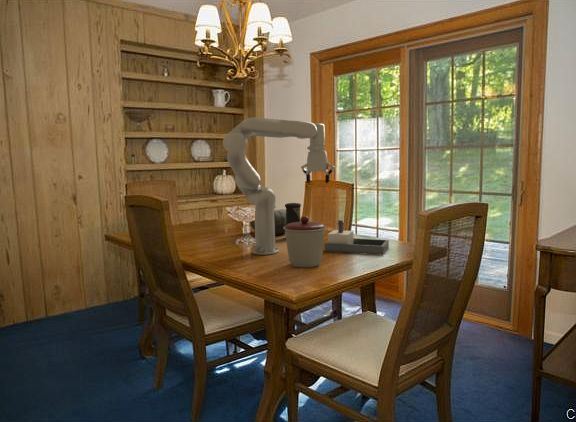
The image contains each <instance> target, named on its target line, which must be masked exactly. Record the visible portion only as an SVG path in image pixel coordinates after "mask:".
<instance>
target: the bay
mask: <svg viewBox="0 0 576 422" xmlns="http://www.w3.org/2000/svg"><path fill="white" fill-rule="evenodd" d="M389 246H390V240H389V239H378V238H377V239H376V238H375V239H374V238H373V239H371V238H355V237H353V244H339V243H328V242H325V243H324V252H327V253H328V252H329V253H330V252H331V253H343V252H351V253H350V254H359V253H367V254H366V255H374V254H382V255H381V256H384V255H383V254H386V252H387V251H388V250H389V248H390V247H389ZM387 249H388V250H387ZM386 250H387V251H386ZM385 251H386V252H385Z"/></svg>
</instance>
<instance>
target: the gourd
mask: <svg viewBox="0 0 576 422" xmlns="http://www.w3.org/2000/svg"><path fill="white" fill-rule="evenodd" d="M249 222H250V221H249ZM274 222H275V236H278V235H281V234H284V233H285V230H284V228H283V227H285V226H286V208H285V209H284V208H282V209H276V210H275V209H274ZM250 225H251V226H250V227H251V228H252V229H253V230H254V231H255V220H254V221H252V222H250Z"/></svg>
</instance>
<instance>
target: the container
mask: <svg viewBox="0 0 576 422" xmlns="http://www.w3.org/2000/svg"><path fill="white" fill-rule="evenodd" d="M284 207H285V210H286V225H287V224H289V223H294V222H301V207H302V205H301V203H299V202H288V203H285V205H284Z"/></svg>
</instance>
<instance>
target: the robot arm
mask: <svg viewBox="0 0 576 422" xmlns="http://www.w3.org/2000/svg"><path fill="white" fill-rule="evenodd" d="M325 130H326V129H325V124H324V123H313V122H311V121H304V120H303V121H302V120H286V119H273V118H268V117H267V118H265V117H248V118H245V119H244V120H242V121H241V122H240V123H238V124H237V125H236V126H235V127H234V128H233V129H231V130H230V131H229V132H228V133H226V135H225V136H224V138H223V139H222V146H223V148H224V149H225V150H226V151H227V162H228V165H229V167H230V168H231V169H232V171H233V173H234V174H235V175H234V182H235V184H236V186H237V187H238V190H239V191H241V193H242V194H243V196H244V197H245V199H247V200H248V202H250V204H252V205H254V206H255V208H254V212H255V230H254V242H255V243H254V244H255V247H254V248H252V250H251V252H252V253H253V254H254V255H259V256H260V255H261V256H262V255H263V256H264V255H265V256H266V255H274V254H277V253H279V249H278V248H277V247H276V235H275V222H274V211H275V209H276V195H275V191H273V190H272V189H271V188H269V187H266V186H265V187H264V186H261V181H262V179H261V176H260V174H259V173H258V172H257V170H256V169H255V168H254V166H253V165H252V164H251V163H250V161H249V159H248V157H247V156H246V150H247V149H246V148H247V146H248V140H249V139H250V138H251V137H267V138H277V139H278V138H281V139H282V138H296V139H300V140H304V139H309V146H307V147H306V148H307V150H309V151H308V152H307V159H306V163H305V164H303V165H302V166H301V167H300V168H301V170H302V172H303V173H304V175H305V176H306V179H305V180H306V183H307V184H310V183H311V175H310V174H311V173H312V172H313V173H314V172H315V173H316V172H324V173H325V177H324V178H325V180H324V181H325V184H329V182H330V175H331V174H332V173H333V172H334V170H335V167H336V166H334V165H333V164H331V163H330V162H329V161H328V154H327V151H326V145H325V144H326V134H325V133H326V132H325ZM329 167H330V169H329Z"/></svg>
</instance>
